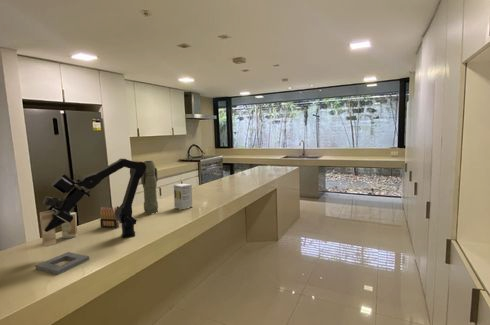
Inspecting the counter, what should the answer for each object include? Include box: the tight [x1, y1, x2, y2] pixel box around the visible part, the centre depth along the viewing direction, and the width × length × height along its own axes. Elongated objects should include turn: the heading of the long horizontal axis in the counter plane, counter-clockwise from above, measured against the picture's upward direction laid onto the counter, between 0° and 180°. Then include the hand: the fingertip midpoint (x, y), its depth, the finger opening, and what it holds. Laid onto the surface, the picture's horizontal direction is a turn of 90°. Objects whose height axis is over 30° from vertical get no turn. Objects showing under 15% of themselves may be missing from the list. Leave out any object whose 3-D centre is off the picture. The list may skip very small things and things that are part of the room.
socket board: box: [35, 251, 90, 276], centre depth 109 cm, size 13×13×2 cm
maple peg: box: [39, 210, 57, 248], centre depth 115 cm, size 4×4×14 cm
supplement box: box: [173, 183, 193, 210], centre depth 193 cm, size 10×9×17 cm
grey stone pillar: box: [140, 160, 159, 215], centre depth 182 cm, size 9×12×35 cm
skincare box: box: [61, 211, 78, 239], centre depth 140 cm, size 6×4×12 cm
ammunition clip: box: [99, 206, 120, 229], centre depth 154 cm, size 11×2×12 cm, turn 78°
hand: (44, 230), depth 114 cm, fingers closed on maple peg, 4 cm apart
